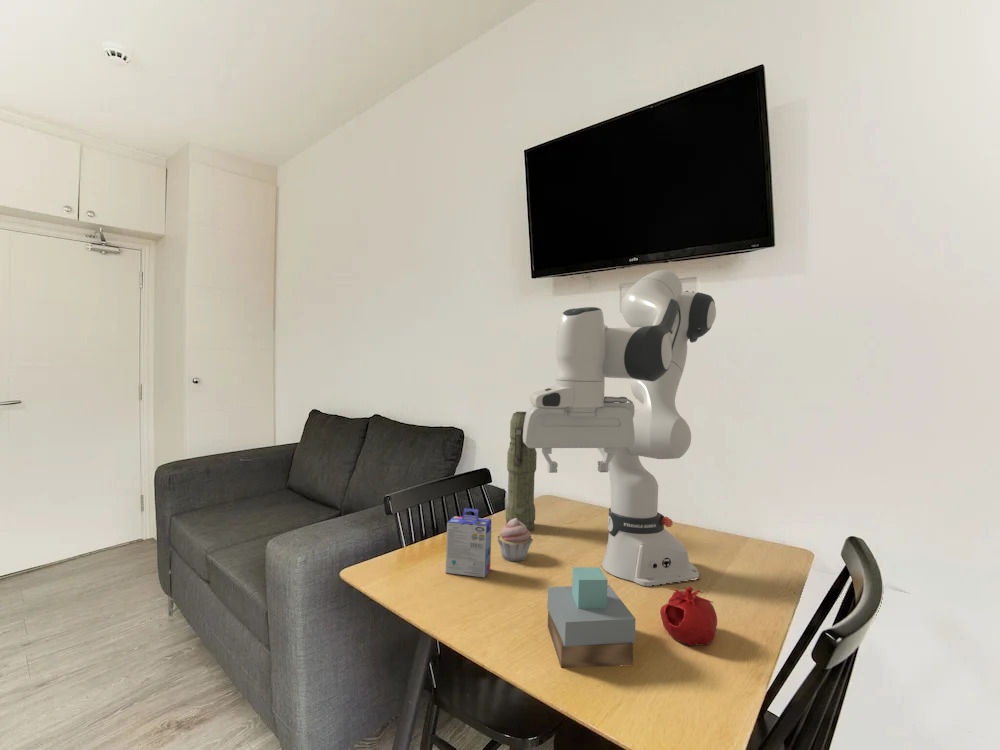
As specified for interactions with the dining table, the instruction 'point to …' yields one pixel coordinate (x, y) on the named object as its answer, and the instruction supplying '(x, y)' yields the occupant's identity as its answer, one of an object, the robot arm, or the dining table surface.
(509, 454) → the thermos
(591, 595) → the teal cube
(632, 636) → the tower top slab
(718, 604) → the dining table surface
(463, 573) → the ink cartridge box
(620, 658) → the tower bottom slab
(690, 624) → the pomegranate
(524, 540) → the cupcake
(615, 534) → the robot arm
